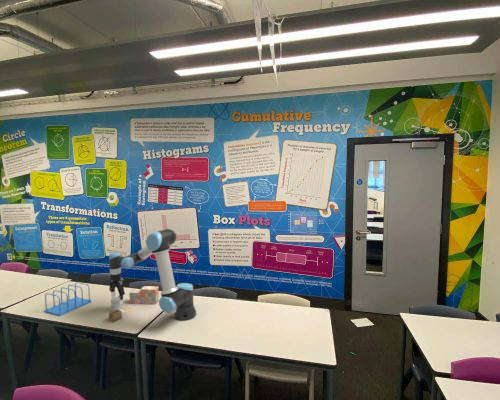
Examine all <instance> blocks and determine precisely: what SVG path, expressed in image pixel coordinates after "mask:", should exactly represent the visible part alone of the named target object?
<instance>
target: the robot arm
mask: <svg viewBox="0 0 500 400" xmlns="http://www.w3.org/2000/svg"><path fill="white" fill-rule="evenodd" d="M176 241H177V233H176V232H175V231H174V230H173V229H170V228H165V229H162V230H161V229H160V230H158V231H154V232H151V233H150V234H148V235H147V237H146V241H145V243H146V244H145V245H146V246H144V247H143V248H141V249H140V250H138V251H137V252H134V253H131V254H129V255H125V256H123V255H122V256H121V253H120V252H119V251H117V252H112V253H109V255H108V260H109V262H108V263H109V274H110V275H109V277H110V278H109V290H108V291H110V293H111V299H114V298H116V288H117V292H118V294H119V295H118V297H119V304H122V303H123V304H124V296H125V294H126V293H125V289H124V284H123V283H124V282H123V281H121V279H122V268H125V269H130V268H132V267H133V266H134V265H136V264H138V263H140V262H144V261H145V260H146V259H147V258H148V257H150V256H151V255H154V256H155V260H156V265H157V270H158V276H159V278H160V279H159V280H160V284H161V289H162V290H161V292H160V296H161V298H160V299H159V301H158V306H159V307H160V309H161V310H162V311H163V312H164V313H166V314H170V313H173V312H174V319H176V320H177V321H189V320H192V319H194V318H195V317H196V316H197V310H196V308H195V304H194V285H193V284H192V283H188V282H186V283H185V282H182V283H177V284H176V281H175V278H174V273H173V268H172V263H171V258H170V254H169V251H170V249H171V245H173V244H175V243H176Z"/></svg>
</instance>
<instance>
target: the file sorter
mask: <svg viewBox="0 0 500 400" xmlns="http://www.w3.org/2000/svg"><path fill="white" fill-rule="evenodd" d="M77 284H81V285H86V286H87V287H88V299H87V298H84V295H83V293H84V292H83V288H82V287H81V286H79V285H77ZM70 286H71V287H74V289H72V288H70ZM77 288H80V290H81V297H79V296H77ZM63 289H65V290H67V292H64V291H62V290H63ZM70 291H73V293H74V297H73V298H70ZM55 292H57V293H60V296H59V295H57V294H55ZM90 292H91V291H90V285H89V283H88V284H87V283H84V282H78V281H76V282H75V283H74V284H69V285H68V286H67V287H61V289H60V290H56V289H55V290H53V291H52V293H49V292H46V293H45V296H44V301H45V302H44V303H45V305H44V306H45V309H44V313H47V314H50V315H54V316H58V317H62V316H63V315H65V314H69V313H70V312H72V311H75V310H77V309H79V308H81V307H84V306H86V305H89V304H91V303H92V300H91V298H90V297H91V296H90V295H91V293H90ZM63 294H65V295H66V301H63ZM47 295H51V296H52V300H53V306H52V307H49V308H47V306H48V304H47ZM55 297H57V298H58V304H56V303H55V301H56V300H55ZM55 304H56V305H55Z"/></svg>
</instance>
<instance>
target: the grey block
mask: <svg viewBox="0 0 500 400" xmlns="http://www.w3.org/2000/svg"><path fill="white" fill-rule="evenodd" d="M123 304H124V302H123V303H122V304H119V296H117V297H116V298H114V299H112V298H111V299H110V309H111V310H110V311H114V310H117V309H118V310H122V309H123Z"/></svg>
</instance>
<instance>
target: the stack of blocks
mask: <svg viewBox="0 0 500 400" xmlns="http://www.w3.org/2000/svg"><path fill="white" fill-rule="evenodd" d="M128 294H129V295H128V296H129V304H130V305H132V304H133V305H157V304H158V303H159V300H160V299H159V286H154V285H153V286H152V285H150V286H149V285H147V286H146V285H145V286H141V288H140V289H132V290H131V291H130V292H129V293H128Z"/></svg>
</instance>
